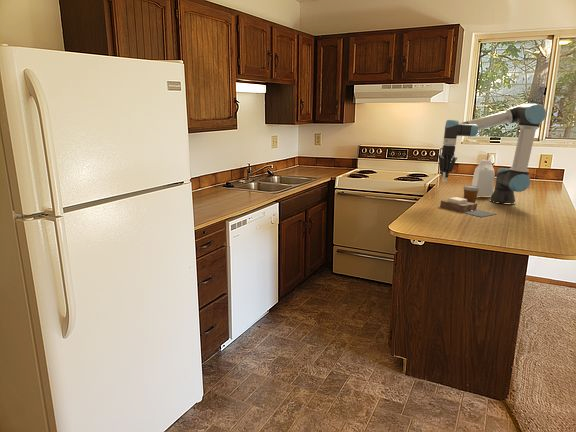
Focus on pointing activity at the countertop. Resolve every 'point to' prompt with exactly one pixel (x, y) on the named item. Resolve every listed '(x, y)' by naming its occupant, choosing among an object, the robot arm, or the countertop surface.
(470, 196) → the disposable coffee cup
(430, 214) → the countertop surface
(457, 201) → the coaster
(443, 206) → the walnut board
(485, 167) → the milk
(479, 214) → the rubber mat
